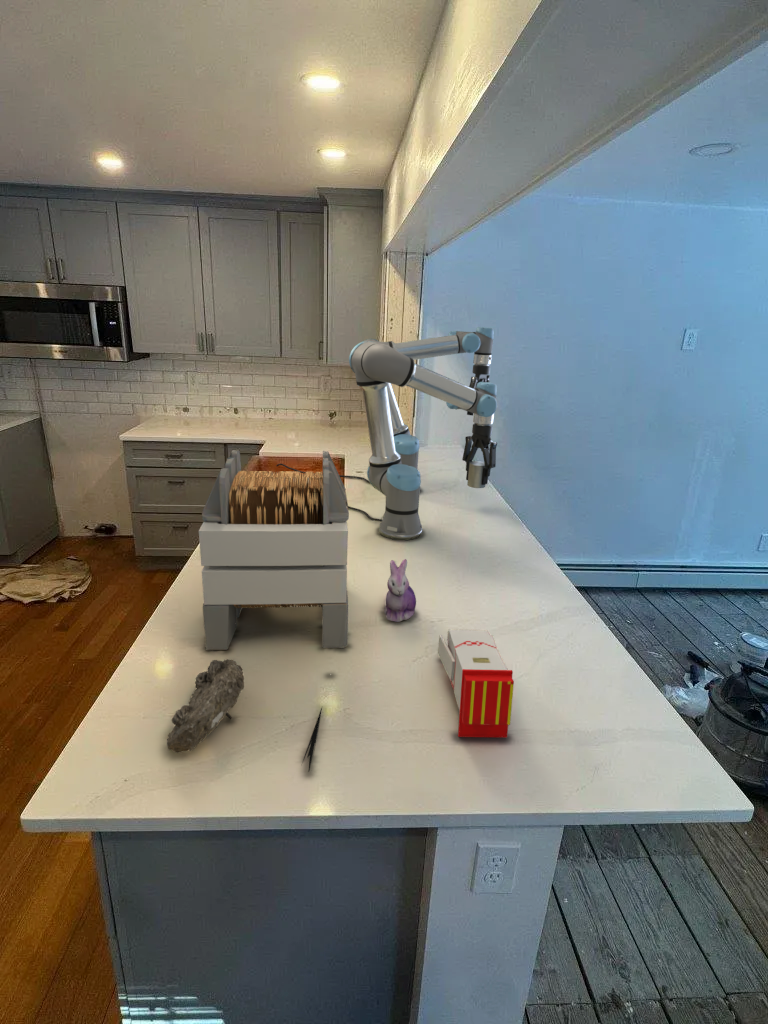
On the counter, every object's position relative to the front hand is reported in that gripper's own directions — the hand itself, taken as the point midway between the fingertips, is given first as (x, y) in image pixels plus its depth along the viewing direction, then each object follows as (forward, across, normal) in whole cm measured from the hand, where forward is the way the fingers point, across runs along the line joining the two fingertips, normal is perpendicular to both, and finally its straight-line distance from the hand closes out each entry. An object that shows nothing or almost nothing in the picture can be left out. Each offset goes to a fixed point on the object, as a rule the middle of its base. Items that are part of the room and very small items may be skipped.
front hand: (476, 481), depth 223 cm
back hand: (-20, +26, -31) cm, 45 cm away
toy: (+12, -72, +92) cm, 117 cm away
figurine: (+12, -40, +81) cm, 91 cm away
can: (+2, 0, 0) cm, 2 cm away
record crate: (+13, -21, +104) cm, 107 cm away
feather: (+13, -59, +121) cm, 135 cm away
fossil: (+13, -45, +136) cm, 144 cm away
